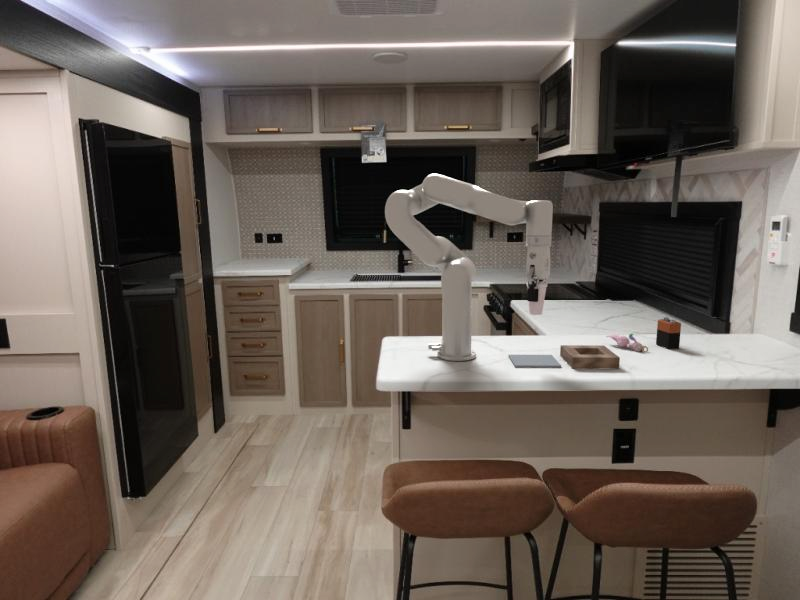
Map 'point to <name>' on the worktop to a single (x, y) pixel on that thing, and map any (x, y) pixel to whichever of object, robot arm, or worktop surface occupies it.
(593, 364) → the walnut frame
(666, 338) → the battery
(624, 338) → the rabbit figure
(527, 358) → the slate mat
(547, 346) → the worktop surface
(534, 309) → the smoothie
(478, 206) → the robot arm
